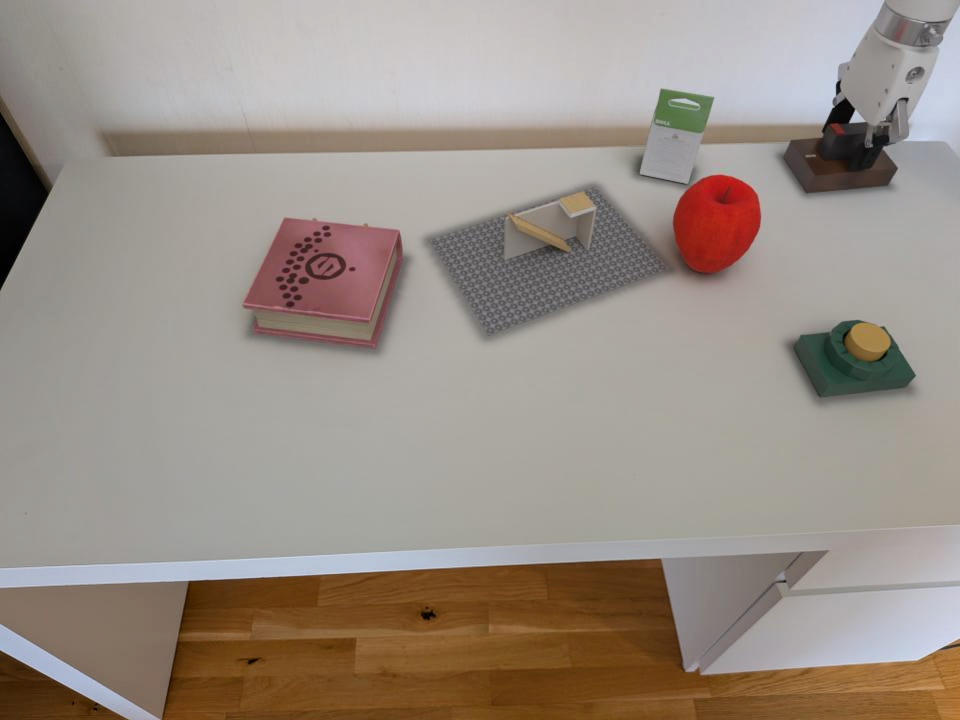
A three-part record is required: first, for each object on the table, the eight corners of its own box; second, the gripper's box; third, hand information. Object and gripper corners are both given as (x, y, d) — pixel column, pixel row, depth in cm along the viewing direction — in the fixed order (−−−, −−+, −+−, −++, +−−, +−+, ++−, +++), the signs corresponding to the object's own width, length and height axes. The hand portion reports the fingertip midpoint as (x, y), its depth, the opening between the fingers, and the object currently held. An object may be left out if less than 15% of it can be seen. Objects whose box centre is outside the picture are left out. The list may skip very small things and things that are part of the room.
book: (404, 254, 86) (400, 224, 82) (375, 348, 77) (369, 319, 73) (295, 242, 87) (286, 212, 83) (253, 333, 78) (242, 304, 74)
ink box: (692, 168, 97) (719, 81, 86) (687, 185, 95) (715, 98, 84) (643, 158, 98) (664, 71, 87) (638, 175, 96) (659, 87, 85)
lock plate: (860, 151, 100) (871, 132, 97) (887, 185, 95) (899, 167, 92) (783, 157, 99) (791, 138, 96) (806, 193, 94) (815, 174, 91)
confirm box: (875, 337, 78) (892, 315, 75) (906, 387, 74) (925, 365, 71) (793, 347, 77) (806, 324, 74) (819, 397, 73) (835, 376, 70)
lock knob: (863, 145, 95) (877, 119, 92) (871, 156, 94) (886, 130, 90) (816, 149, 95) (828, 123, 91) (823, 160, 93) (837, 134, 90)
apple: (647, 245, 87) (668, 166, 78) (713, 228, 89) (742, 149, 80) (686, 299, 82) (714, 222, 72) (756, 280, 84) (793, 202, 74)
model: (589, 249, 87) (597, 202, 81) (515, 275, 84) (518, 228, 78) (576, 233, 89) (584, 186, 82) (503, 258, 86) (505, 211, 80)
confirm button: (871, 330, 74) (879, 320, 73) (889, 359, 72) (898, 349, 71) (837, 334, 74) (844, 324, 73) (854, 363, 72) (861, 353, 70)
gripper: (983, 59, 75) (902, 188, 89) (903, -14, 85) (842, 112, 99) (920, 64, 74) (848, 193, 88) (847, -11, 84) (793, 115, 99)
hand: (845, 149), depth 94 cm, fingers open, 7 cm apart
